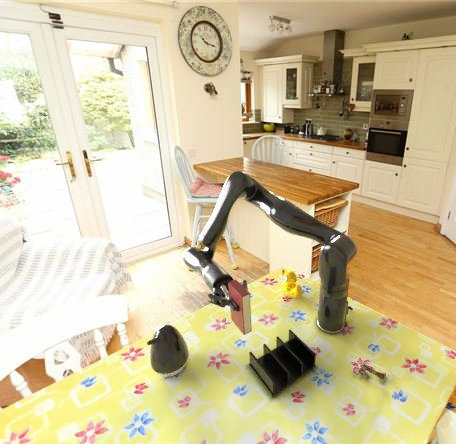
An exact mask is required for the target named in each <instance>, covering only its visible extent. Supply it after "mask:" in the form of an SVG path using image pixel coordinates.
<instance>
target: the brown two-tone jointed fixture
mask: <svg viewBox="0 0 456 444" xmlns="http://www.w3.org/2000/svg"><path fill="white" fill-rule="evenodd" d="M365 371H367V373H366V372H365ZM369 373H370V374H372V375H373V376H376V377H378V378H379V379H381V382H382V383H383V382H385V381H386V380H387V379H388V378H387V373H386V372H380V371H377V370H375V369H373V368H372V367H370V366H367V364H366V363H365V364H364V363H363V362H362V363H359V369H357V370H356V372H355V375H356V376H358V375H361V376H362V377H363V378H365V379H367V378H369V377H370V376H369Z"/></svg>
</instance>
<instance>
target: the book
mask: <svg viewBox="0 0 456 444" xmlns="http://www.w3.org/2000/svg"><path fill="white" fill-rule="evenodd" d="M228 286H229V295H230V296H231V299H233V300H234V301H235V302H236V303H237V304H238V305H239V311H238V312H236V311H233V310H232V308H231V307H230V306H229V308H230V319H231V321H232V322H233V324H234V325H235V326H236V327H237V329H238V330H239V331H240V332H241V333H242V335H243V336H246V335H248V334H250V333H251V332H252V310H251V309H252V308H251V293H250V291H249V290H248V291H247V290H246V289H245V288H244V287H243V286H242V285H241V284H240V281H239V280H237V279H234V280H233V281H231V282H228Z"/></svg>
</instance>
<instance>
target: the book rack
mask: <svg viewBox="0 0 456 444" xmlns="http://www.w3.org/2000/svg"><path fill="white" fill-rule="evenodd" d="M275 338H276V340H275V343H276V344H275V345H276V347H275V348H274V349H270V348H269V347H268V345H267V344H266V343H263V344H262V346H263V347H262V349H263V352H262V353H263V355H262V356H260V357H258V358H257V357H256V356H255V355H254V353H253V352H252V351H249V353H248V355H249V356H248V357H249V364H248V368H250V370H251V371H252V372H253V374H254V375H255V377H256V378H257V379H258V381H259V382H260V383H261V384H262V386H263V387H264V389H265V390H266V391H267V393H268V395H270V397H271V398H274V397H275V396H277V395H278V394H280V393H281V392H282V391H284V390H285V389H287V388H288V387H290V386H291V385H292V384H294V383H295V382H297V381H299V379H301V378H302V377H305V376H306V375H307V374H308V373H310V372H311V371H312V370H314V369H316V367H317V365H316V359H317V358H316V357H317V354H316V353H315V351H313V350H312V349H311V348H310V347H309V346H308V345H307V344H306V343H305V341H303V340H302V339H301V338H300V337H299V336H298V335H297V334H296V333H295V332H293V330H292V329H288V340H287V341H286V342H284V341H283V340H282V339H281V338H280V337H279V336H276V337H275Z"/></svg>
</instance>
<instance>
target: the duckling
mask: <svg viewBox="0 0 456 444" xmlns="http://www.w3.org/2000/svg"><path fill="white" fill-rule="evenodd" d="M281 275H282V277H283V280H284V282H283V283H282V288H283V291H284V294H285V295H287V296H288V297H291V298H294V299H298V298H300V297H302V296H303V295H302V294H303V288H302V286H301V284H296V282H297V281H298V276H297V274H296V273H295V272H294V271H292V270H287V271H285V269H281Z"/></svg>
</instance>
